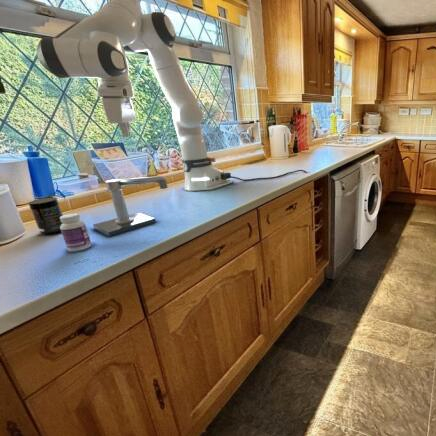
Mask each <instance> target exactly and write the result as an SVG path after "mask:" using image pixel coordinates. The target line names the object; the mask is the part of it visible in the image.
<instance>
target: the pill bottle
mask: <svg viewBox="0 0 436 436" xmlns="http://www.w3.org/2000/svg"><path fill="white" fill-rule="evenodd" d="M60 220H61V222H62V223H63V224H61V226H60V229H61V232H60V233H61V235H62V237H63V240H64V244H65V246H66V248H67V251H69V252H79V251H80V252H81V251H84V250H87V249H88V248H90V247H91V246H92V241H91V239H90V235H89V232H88V228H87V226H86V222H84V221H83V220H82V219H81V217H80V215H79V213H76V212H75V213H74V212H73V213H68V214H63V216H61V217H60Z"/></svg>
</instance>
